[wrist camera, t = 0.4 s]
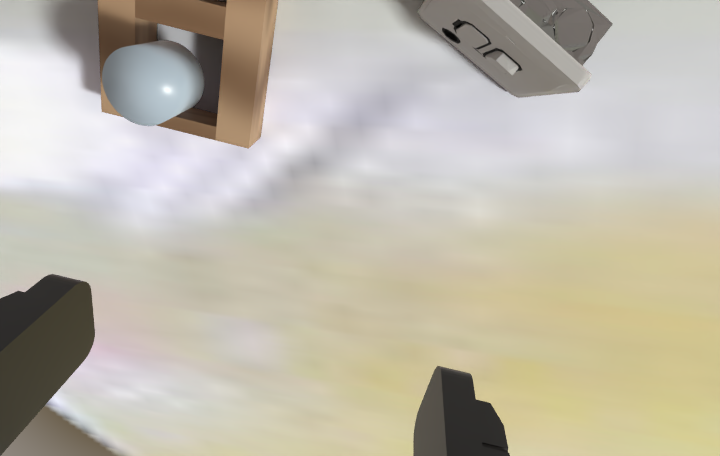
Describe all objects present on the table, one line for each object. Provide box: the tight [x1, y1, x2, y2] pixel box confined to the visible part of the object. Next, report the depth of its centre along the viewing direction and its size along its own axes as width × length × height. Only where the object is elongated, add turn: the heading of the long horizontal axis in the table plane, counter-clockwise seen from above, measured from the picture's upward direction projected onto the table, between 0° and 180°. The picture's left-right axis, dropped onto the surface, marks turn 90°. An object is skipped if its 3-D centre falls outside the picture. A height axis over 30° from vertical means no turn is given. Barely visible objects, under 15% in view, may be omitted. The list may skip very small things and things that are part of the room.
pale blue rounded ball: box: [102, 40, 204, 126], centre depth 30 cm, size 5×5×5 cm
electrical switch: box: [417, 0, 612, 98], centre depth 27 cm, size 9×5×9 cm, turn 53°
